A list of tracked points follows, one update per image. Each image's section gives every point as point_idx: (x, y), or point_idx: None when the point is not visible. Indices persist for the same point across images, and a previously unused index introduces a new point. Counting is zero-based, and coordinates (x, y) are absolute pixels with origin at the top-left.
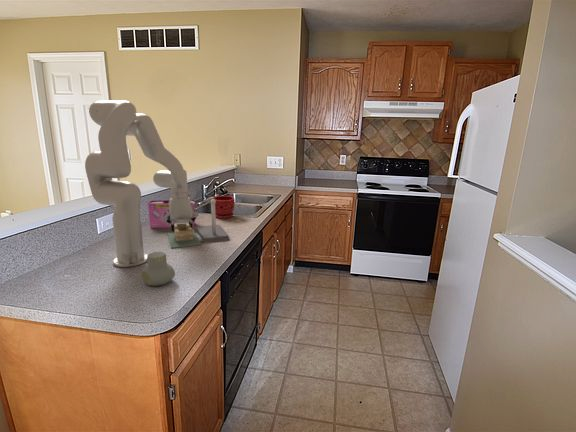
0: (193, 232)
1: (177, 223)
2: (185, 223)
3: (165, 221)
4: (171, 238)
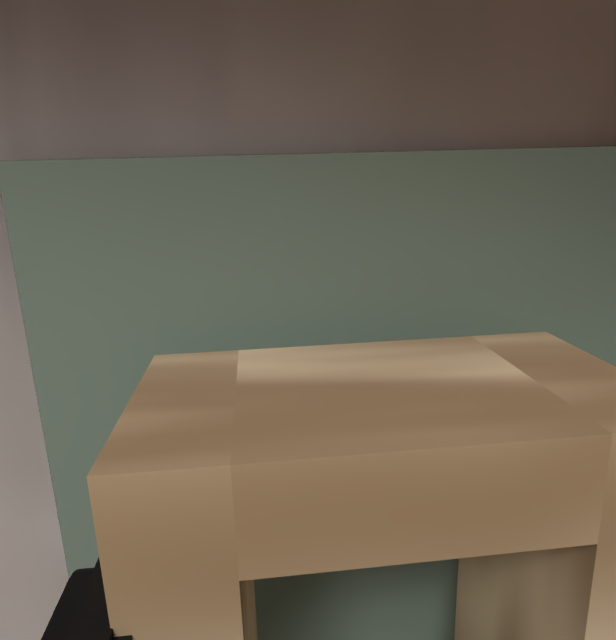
0: (597, 316)
1: (287, 459)
2: (586, 533)
3: None
4: None
